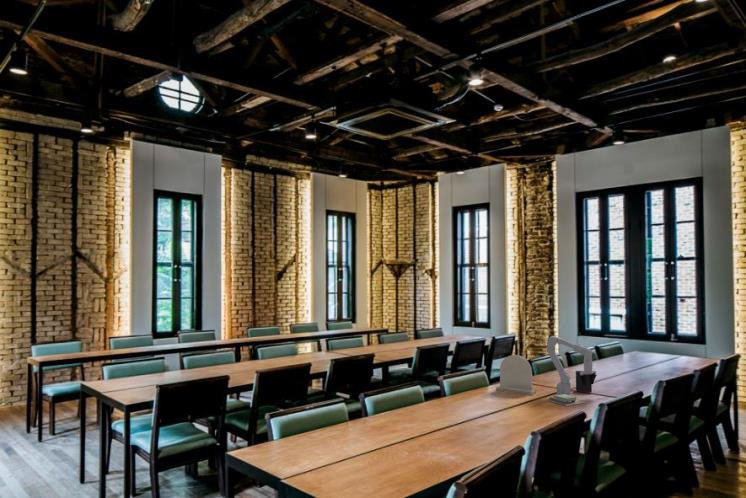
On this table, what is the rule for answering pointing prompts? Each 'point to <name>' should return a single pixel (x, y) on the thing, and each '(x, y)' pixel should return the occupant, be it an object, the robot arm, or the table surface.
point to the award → (516, 375)
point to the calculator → (580, 384)
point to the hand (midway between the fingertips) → (588, 384)
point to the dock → (565, 401)
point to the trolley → (565, 397)
